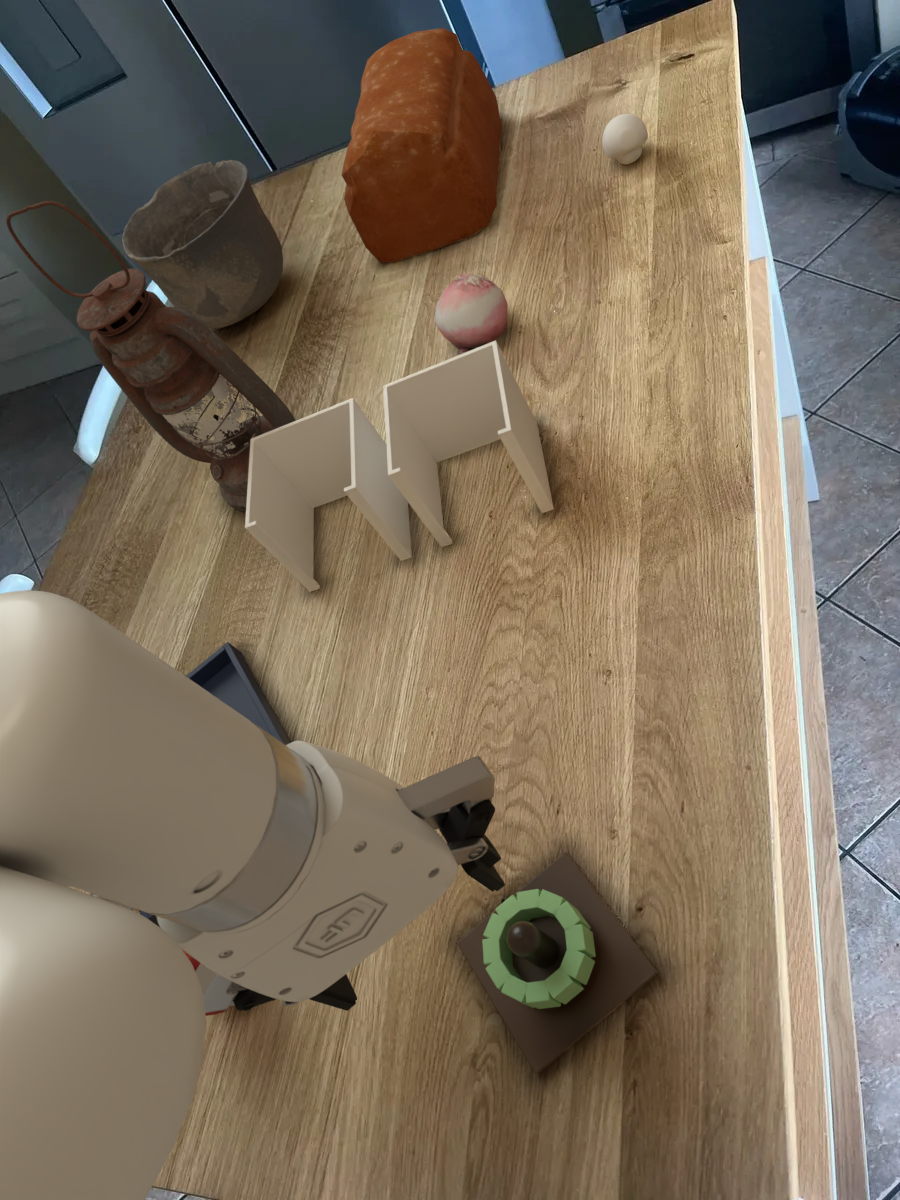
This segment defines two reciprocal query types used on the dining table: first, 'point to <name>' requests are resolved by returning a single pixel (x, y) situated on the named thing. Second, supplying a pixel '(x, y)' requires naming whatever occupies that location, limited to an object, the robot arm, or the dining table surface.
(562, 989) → the ring
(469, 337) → the onion
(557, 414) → the dining table surface
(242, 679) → the tray
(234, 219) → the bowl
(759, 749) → the dining table surface
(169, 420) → the lantern
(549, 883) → the stand
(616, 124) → the mushroom
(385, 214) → the bread
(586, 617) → the dining table surface
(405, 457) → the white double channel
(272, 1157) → the dining table surface
